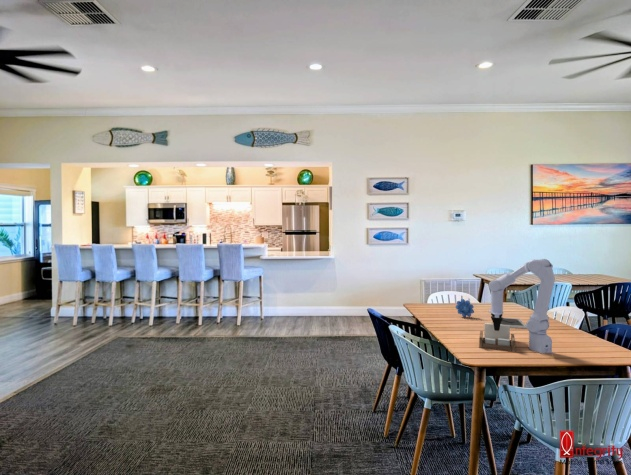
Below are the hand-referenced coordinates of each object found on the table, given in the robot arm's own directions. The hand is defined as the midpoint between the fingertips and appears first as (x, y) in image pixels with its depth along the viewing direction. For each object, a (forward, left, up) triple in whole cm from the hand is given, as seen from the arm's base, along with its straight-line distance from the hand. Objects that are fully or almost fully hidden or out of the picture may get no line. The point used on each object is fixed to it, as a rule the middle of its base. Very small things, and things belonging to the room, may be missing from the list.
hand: (496, 328), depth 209 cm
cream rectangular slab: (0, 0, -6) cm, 6 cm away
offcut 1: (-12, +13, -5) cm, 19 cm away
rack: (-7, +5, -6) cm, 10 cm away
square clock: (+29, -32, -7) cm, 44 cm away
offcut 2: (-16, +8, -5) cm, 19 cm away
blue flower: (+52, -17, -6) cm, 55 cm away
